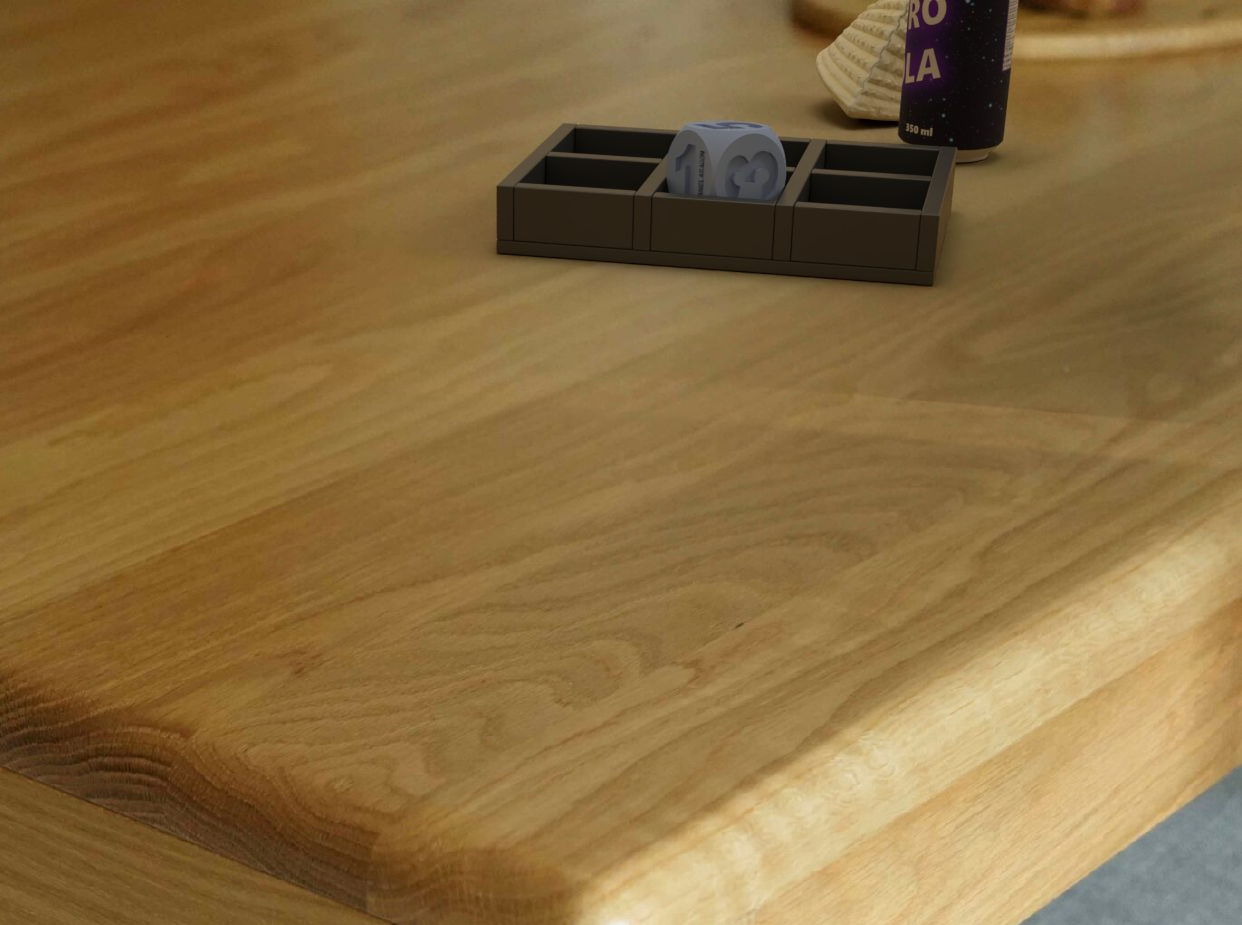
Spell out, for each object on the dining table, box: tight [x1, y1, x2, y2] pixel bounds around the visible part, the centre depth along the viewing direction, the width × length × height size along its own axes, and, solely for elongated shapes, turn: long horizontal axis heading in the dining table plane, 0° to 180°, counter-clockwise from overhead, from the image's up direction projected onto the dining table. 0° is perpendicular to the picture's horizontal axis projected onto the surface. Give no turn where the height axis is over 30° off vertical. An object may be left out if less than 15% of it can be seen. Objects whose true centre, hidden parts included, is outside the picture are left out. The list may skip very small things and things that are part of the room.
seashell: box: [815, 0, 909, 122], centre depth 121 cm, size 8×8×8 cm
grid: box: [495, 122, 957, 286], centre depth 97 cm, size 20×13×3 cm
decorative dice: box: [666, 120, 786, 202], centre depth 94 cm, size 4×4×4 cm
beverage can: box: [897, 0, 1019, 163], centre depth 110 cm, size 6×6×12 cm
